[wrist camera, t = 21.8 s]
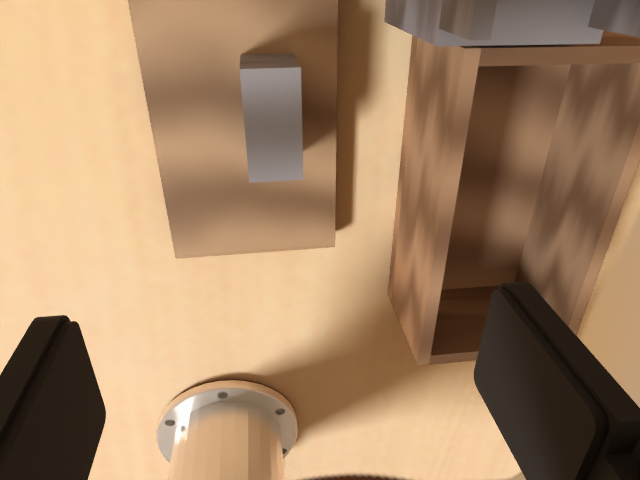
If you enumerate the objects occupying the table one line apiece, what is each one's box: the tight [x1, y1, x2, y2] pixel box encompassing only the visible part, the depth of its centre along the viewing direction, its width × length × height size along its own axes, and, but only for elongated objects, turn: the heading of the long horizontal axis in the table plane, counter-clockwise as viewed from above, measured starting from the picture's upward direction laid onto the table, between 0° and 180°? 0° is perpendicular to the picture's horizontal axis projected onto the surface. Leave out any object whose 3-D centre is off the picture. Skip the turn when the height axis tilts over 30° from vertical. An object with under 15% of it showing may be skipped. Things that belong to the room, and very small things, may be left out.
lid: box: [128, 0, 338, 259], centre depth 28 cm, size 20×11×6 cm, turn 0°
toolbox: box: [385, 0, 640, 366], centre depth 28 cm, size 25×13×12 cm, turn 0°
